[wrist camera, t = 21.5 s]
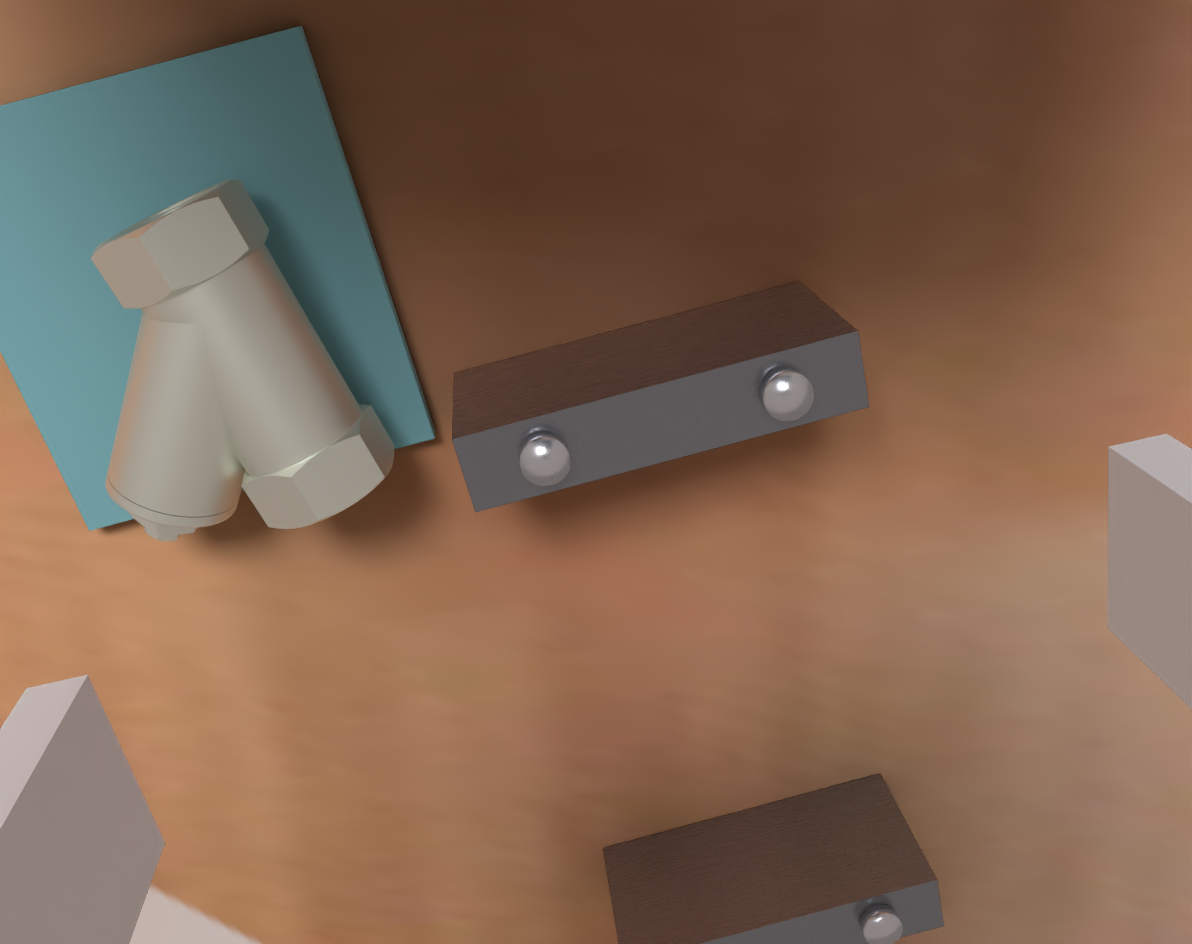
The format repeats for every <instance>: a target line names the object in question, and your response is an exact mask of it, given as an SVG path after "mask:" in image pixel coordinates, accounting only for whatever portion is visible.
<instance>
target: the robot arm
mask: <svg viewBox="0 0 1192 944" xmlns="http://www.w3.org/2000/svg"><path fill="white" fill-rule="evenodd" d="M1108 629H1109V630H1110V631H1111V632H1112V633H1113V634H1114V635H1115V636H1116V637H1117V638H1118V639H1119V640H1120V641H1122V642H1123V643H1124V644H1125V645H1126V646H1127V647H1128V648H1129V649H1130V650H1131V651H1132V652H1133V653H1134V654H1135V655H1136V656H1137V657H1138V658H1139V659H1140V660H1141V661H1142V662H1143V663H1144V664H1145V665H1146V666H1147V667H1149V668H1150V669H1151V670H1152V671H1153V672H1154V673H1155V674H1156V675H1157V676H1158V677H1159V678H1160V679H1161V680H1162V681H1163V682H1164V683H1165V684H1166V685H1167V686H1168V687H1169V688H1170V689H1171V690H1172V691H1173V692H1174V693H1176V694H1177V695H1178V696H1179V697H1180V698H1181V699H1182V700H1183V701H1184V702H1185V703H1186V704H1187V705H1188V706H1189V707H1190V708H1191V709H1192V449H1191V448H1189V447H1188V446H1186V445H1184V444H1183V443H1181V442H1180V441H1178V440H1176V439H1175V438H1173V437H1171V436H1170V435H1168V434H1162V435H1158V436H1153V437H1149V438H1144V439H1140V440H1136V441H1131V442H1127V443H1122V444H1118V445H1113V446H1109V447H1108ZM164 845H165V842H164V839H163V837H162V835H161V833H160V831H159V829H158V826H157V824H156V822H155V820H154V818H153V816H152V813H151V811H150V809H149V807H148V805H147V802H146V800H145V798H144V796H143V794H142V792H141V789H140V787H139V785H138V783H137V781H136V779H135V776H134V774H133V772H132V770H131V768H130V766H129V763H128V761H127V759H126V757H125V755H124V753H123V750H122V748H121V746H120V744H119V742H118V740H117V737H116V735H115V733H114V731H113V729H112V727H111V724H110V722H109V720H108V718H107V716H106V714H105V711H104V709H103V707H102V705H101V703H100V701H99V698H98V696H97V694H96V692H95V690H94V687H93V685H92V683H91V681H90V679H89V677H88V675H84V676H80V677H75V678H71V679H66V680H62V681H57V682H53V683H48V684H44V685H39V686H35V687H30V688H26V690H25V691H24V693H23V694H22V696H21V698H20V699H19V701H18V702H17V704H16V705H15V707H14V708H13V710H12V712H11V713H10V715H9V716H8V718H7V719H6V721H5V722H4V724H3V726H2V727H1V729H0V944H129V942H130V940H131V937H132V934H133V931H134V928H135V926H136V923H137V920H138V917H139V914H140V912H141V909H142V906H143V903H144V900H145V898H146V895H147V892H148V889H149V887H150V884H151V881H152V878H153V875H154V873H155V870H156V867H157V864H158V861H159V859H160V856H161V853H162V850H163V847H164Z"/></svg>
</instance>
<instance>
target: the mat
mask: <svg viewBox="0 0 1192 944" xmlns="http://www.w3.org/2000/svg"><path fill="white" fill-rule="evenodd" d="M228 179H231V180H241V182H242V184H243V185H244V187H245V189H246V190H247V192H248V194H249V196H250V197H251V199H252V201H253V203H254V204H255V206H256V208H257V209H258V211H259V213H260V215H261V216H262V218H263V220H264V222H265V223H266V225H267V227H268V228H269V232H268V236H267V239H266V241H265V243H264V244H265V245H266V247H267V249H268V251H269V252H270V254H271V256H272V257H273V259H274V261H275V263H276V264H277V266H278V268H279V269H280V271H281V273H282V275H283V276H284V278H285V280H286V282H287V283H288V285H289V287H290V288H291V290H292V292H293V294H294V295H295V297H296V299H297V300H298V302H299V304H300V306H301V307H302V309H303V311H304V312H305V314H306V316H307V318H308V319H309V321H310V323H311V325H312V326H313V328H314V330H315V331H316V333H317V335H318V336H319V338H320V340H321V342H322V343H323V345H324V347H325V348H326V350H327V352H328V353H329V355H330V357H331V358H332V360H333V362H334V364H335V365H336V367H337V369H338V370H339V372H340V374H341V375H342V377H343V379H344V381H345V382H346V384H347V386H348V387H349V389H350V391H351V392H352V394H353V396H354V398H355V399H356V401H357V403H358V404H363V405H371V406H372V408H373V409H374V411H375V413H376V415H377V416H378V418H379V420H380V422H381V423H382V425H383V427H384V428H385V430H386V432H387V434H388V435H389V437H390V439H391V441H392V442H393V444H394V446H395V447H394V449H397V448H401V447H405V446H408V445H412V444H416V443H420V442H423V441H427V440H431V439H435V428H434V425H433V422H432V419H431V416H430V413H429V410H428V407H427V404H426V401H425V398H424V395H423V392H422V389H421V386H420V383H419V380H418V377H417V374H416V371H415V368H414V365H413V362H412V358H411V355H410V352H409V349H408V346H407V343H406V340H405V337H404V334H403V331H402V328H401V325H400V322H399V319H398V316H397V313H396V310H395V307H394V304H393V301H392V298H391V295H390V292H389V289H388V286H387V283H386V280H385V277H384V273H383V270H382V267H381V264H380V261H379V258H378V255H377V252H376V249H375V246H374V243H373V240H372V237H371V234H370V231H369V228H368V225H367V222H366V219H365V216H364V213H363V210H362V207H361V204H360V201H359V198H358V195H357V192H356V188H355V185H354V182H353V179H352V176H351V173H350V170H349V167H348V164H347V161H346V158H345V155H344V152H343V149H342V146H341V143H340V140H339V137H338V134H337V131H336V128H335V125H334V122H333V119H332V116H331V113H330V110H329V107H328V103H327V100H326V97H325V94H324V91H323V88H322V85H321V82H320V79H319V76H318V73H317V70H316V67H315V64H314V61H313V58H312V55H311V52H310V49H309V46H308V43H307V40H306V37H305V34H304V31H303V28H302V26H298V27H294V28H290V29H287V30H283V31H279V32H275V33H272V34H268V35H264V36H260V37H257V38H253V39H249V40H245V41H242V42H238V43H234V44H230V45H226V46H223V47H219V48H215V49H211V50H208V51H204V52H200V53H196V54H193V55H189V56H185V57H181V58H178V59H174V60H170V61H166V62H163V63H159V64H155V65H151V66H147V67H144V68H140V69H136V70H132V71H129V72H125V73H121V74H117V75H114V76H110V77H106V78H102V79H99V80H95V81H91V82H87V83H84V84H80V85H76V86H72V87H68V88H65V89H61V90H57V91H53V92H50V93H46V94H42V95H38V96H35V97H31V98H27V99H23V100H20V101H16V102H12V103H8V104H5V105H1V106H0V352H1V354H2V356H3V358H4V360H5V362H6V364H7V366H8V368H9V370H10V372H11V374H12V376H13V378H14V380H15V382H16V384H17V386H18V388H19V390H20V392H21V394H22V396H23V398H24V400H25V402H26V404H27V406H28V408H29V410H30V412H31V414H32V416H33V418H34V420H35V422H36V424H37V426H38V428H39V430H40V432H41V434H42V436H43V438H44V440H45V442H46V444H47V446H48V448H49V450H50V452H51V454H52V456H53V458H54V460H55V462H56V464H57V466H58V469H59V471H60V473H61V475H62V477H63V479H64V481H65V483H66V485H67V487H68V489H69V491H70V493H71V495H72V497H73V499H74V501H75V503H76V505H77V507H78V509H79V511H80V513H81V515H82V517H83V519H84V521H85V523H86V525H87V527H88V529H89V531H91V530H94V529H98V528H102V527H106V526H109V525H113V524H117V523H121V522H124V521H128V520H132V519H134V518H133V517H132V516H131V515H130V514H129V512H127V511H126V510H124V509H123V508H121V507H120V506H119V505H118V504H117V503H116V502H115V501H114V500H113V499H112V498H111V497H110V495H109V494H108V492H107V489H106V483H105V482H106V476H107V472H108V468H109V463H110V458H111V454H112V449H113V445H114V440H115V435H116V431H117V426H118V422H119V417H120V412H121V408H122V403H123V398H124V394H125V389H126V385H127V380H128V375H129V371H130V366H131V362H132V357H133V353H134V348H135V344H136V339H137V334H138V330H139V325H140V321H141V316H142V311H141V309H131V308H123V306H122V305H121V303H120V302H119V300H118V299H117V297H116V296H115V294H114V293H113V291H112V290H111V288H110V287H109V285H108V284H107V282H106V281H105V279H104V278H103V276H102V275H101V273H100V272H99V270H98V269H97V267H96V266H95V264H94V263H93V261H92V260H91V256H92V254H93V252H94V251H95V249H96V247H97V246H98V245H99V244H101V243H102V242H104V241H105V240H107V239H109V238H110V237H112V236H114V235H115V234H117V233H119V232H121V231H123V230H124V229H126V228H128V227H130V226H132V225H134V224H136V223H137V222H139V221H141V220H143V219H145V218H147V217H149V216H151V215H153V214H155V213H157V212H159V211H160V210H162V209H164V208H166V207H168V206H170V205H172V204H174V203H176V202H178V201H181V200H183V199H185V198H187V197H189V196H191V195H193V194H195V193H197V192H199V191H201V190H204V189H206V188H208V187H210V186H212V185H215V184H217V183H219V182H222V181H225V180H228ZM242 490H244V489H243V488H242Z"/></svg>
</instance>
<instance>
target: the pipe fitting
mask: <svg viewBox="0 0 1192 944" xmlns="http://www.w3.org/2000/svg"><path fill="white" fill-rule="evenodd" d="M268 232H269V228H268V227H267V225H266V223H265V222H264V220H263V218H262V216H261V215H260V213H259V211H258V209H257V208H256V206H255V204H254V203H253V201H252V199H251V197H250V196H249V194H248V192H247V190H246V189H245V187H244V185H243V184H242V182H241V180H231V179H228V180H225V181H222V182H219V183H217V184H215V185H212V186H210V187H208V188H206V189H204V190H201V191H199V192H197V193H195V194H193V195H191V196H189V197H187V198H185V199H183V200H181V201H178V202H176V203H174V204H172V205H170V206H168V207H166V208H164V209H162V210H160V211H159V212H157V213H155V214H153V215H151V216H149V217H147V218H145V219H143V220H141V221H139V222H137V223H136V224H134V225H132V226H130V227H128V228H126V229H124V230H123V231H121V232H119V233H117V234H115V235H114V236H112V237H110V238H109V239H107V240H105V241H104V242H102V243H101V244H99V245H98V246H97V247H96V249H95V251H94V252H93V254H92V256H91V260H92V261H93V263H94V264H95V266H96V267H97V269H98V270H99V272H100V273H101V275H102V276H103V278H104V279H105V281H106V282H107V284H108V285H109V287H110V288H111V290H112V291H113V293H114V294H115V296H116V297H117V299H118V300H119V302H120V303H121V305H122V306H123V308H131V309H141V311H142V316H141V321H140V325H139V330H138V334H137V339H136V344H135V348H134V353H133V357H132V362H131V366H130V371H129V375H128V380H127V385H126V389H125V394H124V398H123V403H122V408H121V412H120V417H119V422H118V426H117V431H116V435H115V440H114V445H113V449H112V454H111V458H110V463H109V468H108V472H107V476H106V482H105V483H106V489H107V492H108V494H109V495H110V497H111V498H112V499H113V500H114V501H115V502H116V503H117V504H118V505H119V506H120V507H121V508H123V509H124V510H126V511H127V512H129V514H130V515H131V516H132V517H133V518H134V519H135V520H136V521H137V522H139V523H140V524H141V525H143V526H144V527H145V530H144V531H145V532H146V533H147V534H148V535H150V536H151V537H153V538H154V539H157V540H161V541H174V540H177V539H178V538H179V536H180V534H189V533H194V532H195V531H196V530H197V528H199V527H207V526H212V525H215V524H218V523H221V522H223V521H225V520H227V519H228V518H229V517H231V516H232V515H233V513H234V512H235V511H236V508H237V505H238V502H239V498H240V494H241V490H242V488H243V489H244V491H245V492H246V494H247V495H248V497H249V498H250V500H251V501H252V503H253V505H254V506H255V508H256V509H257V511H258V512H259V514H260V515H261V517H262V518H263V520H264V521H265V523H266V524H267V526H268V527H271V528H279V529H296V528H302V527H306V526H309V525H312V524H315V523H318V522H320V521H323V520H325V519H327V518H330V517H332V516H334V515H336V514H338V513H340V512H341V511H343V510H345V509H347V508H348V507H350V506H352V505H353V504H355V503H356V502H358V501H359V500H361V499H362V498H363V497H365V496H366V495H367V494H369V493H370V492H371V491H372V490H373V489H375V488H376V487H377V486H378V485H379V484H380V483H381V482H382V481H383V480H384V479H385V477H386V476H387V475H388V474H389V472H390V470H391V468H392V466H393V460H394V447H395V446H394V444H393V442H392V441H391V439H390V437H389V435H388V434H387V432H386V430H385V428H384V427H383V425H382V423H381V422H380V420H379V418H378V416H377V415H376V413H375V411H374V409H373V408H372V406H371V405H363V404H358V403H357V401H356V399H355V398H354V396H353V394H352V392H351V391H350V389H349V387H348V386H347V384H346V382H345V381H344V379H343V377H342V375H341V374H340V372H339V370H338V369H337V367H336V365H335V364H334V362H333V360H332V358H331V357H330V355H329V353H328V352H327V350H326V348H325V347H324V345H323V343H322V342H321V340H320V338H319V336H318V335H317V333H316V331H315V330H314V328H313V326H312V325H311V323H310V321H309V319H308V318H307V316H306V314H305V312H304V311H303V309H302V307H301V306H300V304H299V302H298V300H297V299H296V297H295V295H294V294H293V292H292V290H291V288H290V287H289V285H288V283H287V282H286V280H285V278H284V276H283V275H282V273H281V271H280V269H279V268H278V266H277V264H276V263H275V261H274V259H273V257H272V256H271V254H270V252H269V251H268V249H267V247H266V245H265V244H264V243H265V241H266V239H267V236H268Z"/></svg>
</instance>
